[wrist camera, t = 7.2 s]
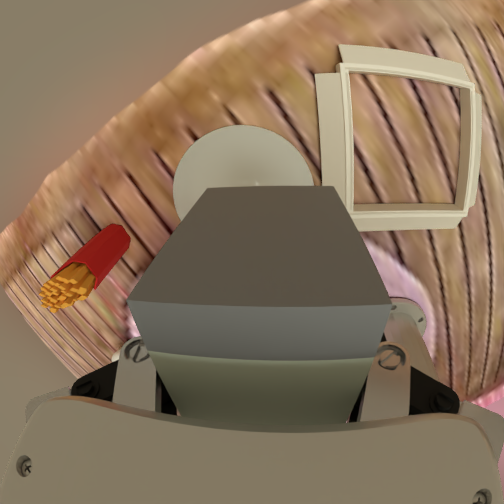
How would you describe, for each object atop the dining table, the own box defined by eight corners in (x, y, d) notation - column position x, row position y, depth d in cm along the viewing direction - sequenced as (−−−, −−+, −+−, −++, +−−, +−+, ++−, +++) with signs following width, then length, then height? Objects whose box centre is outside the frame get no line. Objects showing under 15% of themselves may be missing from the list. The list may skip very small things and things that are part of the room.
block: (319, 333, 15) (328, 454, 9) (227, 331, 15) (201, 449, 9) (333, 186, 11) (392, 304, 5) (207, 188, 11) (126, 300, 5)
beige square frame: (467, 226, 26) (476, 233, 24) (322, 230, 29) (324, 239, 27) (475, 69, 17) (487, 69, 15) (310, 45, 20) (312, 40, 18)
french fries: (101, 265, 34) (51, 324, 24) (84, 242, 33) (28, 296, 22) (143, 240, 31) (90, 306, 21) (124, 213, 30) (61, 270, 20)
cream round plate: (315, 253, 30) (315, 256, 30) (189, 259, 32) (188, 262, 32) (309, 119, 23) (310, 119, 23) (163, 136, 25) (161, 137, 25)
